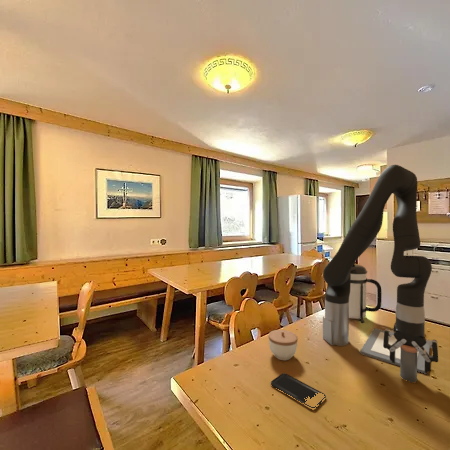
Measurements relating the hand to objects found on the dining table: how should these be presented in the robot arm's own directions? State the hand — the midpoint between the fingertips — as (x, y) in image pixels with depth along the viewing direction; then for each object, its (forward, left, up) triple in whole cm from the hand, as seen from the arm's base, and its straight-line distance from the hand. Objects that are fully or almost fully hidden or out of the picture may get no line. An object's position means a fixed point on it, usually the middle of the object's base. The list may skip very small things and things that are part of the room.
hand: (409, 366), depth 82 cm
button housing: (+28, +27, -4) cm, 39 cm away
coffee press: (+17, +46, -4) cm, 49 cm away
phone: (-38, +2, -4) cm, 39 cm away
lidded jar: (-34, +21, -4) cm, 40 cm away
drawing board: (+11, +16, -4) cm, 20 cm away
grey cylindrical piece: (0, 0, -4) cm, 4 cm away
